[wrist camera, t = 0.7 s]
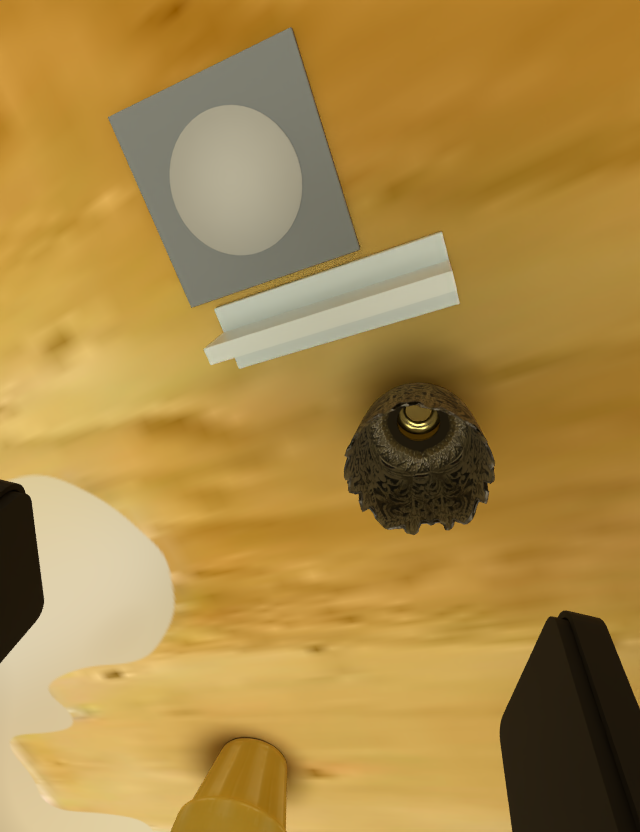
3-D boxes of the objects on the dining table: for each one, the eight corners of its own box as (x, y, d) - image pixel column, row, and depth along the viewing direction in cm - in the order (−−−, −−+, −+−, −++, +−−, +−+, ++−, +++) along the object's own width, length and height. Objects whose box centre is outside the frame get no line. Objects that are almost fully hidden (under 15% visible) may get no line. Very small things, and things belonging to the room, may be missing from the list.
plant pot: (274, 714, 48) (241, 834, 40) (325, 785, 52) (305, 910, 43) (185, 731, 52) (137, 845, 43) (238, 796, 55) (203, 915, 46)
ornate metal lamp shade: (369, 465, 36) (355, 539, 28) (350, 363, 33) (330, 417, 26) (483, 456, 34) (500, 532, 27) (474, 346, 31) (490, 399, 24)
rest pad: (360, 249, 30) (359, 249, 29) (193, 306, 33) (190, 307, 33) (292, 28, 26) (290, 26, 26) (110, 117, 29) (107, 117, 29)
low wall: (459, 301, 30) (464, 318, 26) (241, 365, 34) (220, 388, 31) (441, 231, 29) (444, 239, 25) (217, 307, 33) (192, 324, 29)
